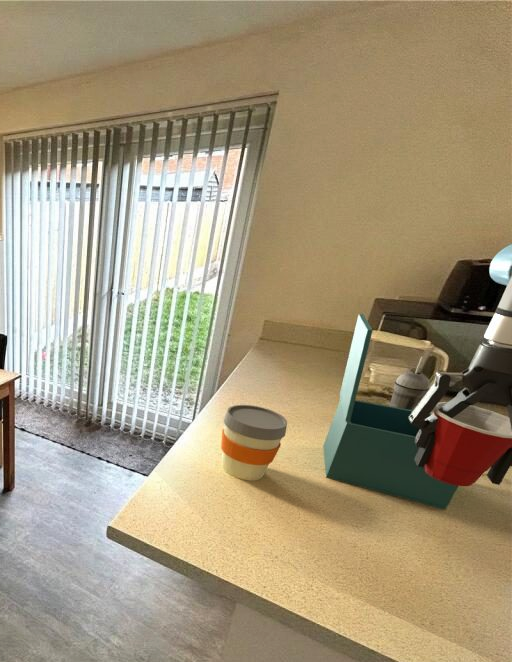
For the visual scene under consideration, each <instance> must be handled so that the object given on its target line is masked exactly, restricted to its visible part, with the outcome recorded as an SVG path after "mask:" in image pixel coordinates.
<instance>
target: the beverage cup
mask: <svg viewBox="0 0 512 662" xmlns="http://www.w3.org/2000/svg"><path fill="white" fill-rule="evenodd" d="M424 358H425V357H424V356H421V357H420V358H419V362H418V364H417V366H416V368H415V371H408V372H404V373H402V374H401V375H399V376H398V377H397V378H396V380H395V381H394V386H393V392H392V396H391V399H390V402H389V406H391V407H397V408H402V409H408V410H414V409H415V408H416V406H417V405H418V404H419V402H420V401H421V400H422V398H423V397H424V396H425V394H426V393H427V392H428V390H429V389H430V387H431V383H430V379H429V378H428V376H427V375H425V374H424V373H422V372H419V371H420V368H421V366H422V363H423V361H424Z"/></svg>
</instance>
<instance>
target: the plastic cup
mask: <svg viewBox="0 0 512 662" xmlns="http://www.w3.org/2000/svg"><path fill="white" fill-rule="evenodd" d="M448 402H449V401H439V402H438V404H437V405H436V406H435V408H434V409H433V410H432V411H433V413H434V415H435V416H436V417H437V418H438V421H437V427H436V429H437V430H435V431H434V434H435V435H436V440H435V445H434V447H433V449H432V451H431V453H430V455H429V457H428V460H427V462H426V464H425V471H426V473H427V474H429V475H430V476H431V477H433V478H435V479H437V480H439V481H442V482H445V483H448V484H451V485H456V486H458V487H465V488H466V487H470V486H473V484H475V483H476V482H477V481H478V480H479V479H480V478H481V477H482V476H483V474H485V472H488V471H489V470H490V468H491V466H492V465H493V464H494V463H495V462H496V461H497V460H498V459H499V458H500V457H501V456H502V455H503V454H504V453H505V452H506V451H507V450H508V449H509V448H511V447H512V429H511V424H510V419H509V416H506V415H503V414H502V413H498V412H496V411H493V410H489V409H486V408H482V407H479V406H475V405H470V406H468V407H467V408H466V409H464V410H463V411H462V412H460V413H459V414H457V415H456V416H455V417H453V418H450V417H448V416H447V415H445V414H443V413H441V412H440V411H439V409H440V408H441V407H443V406H444V405H445V404H447V403H448Z"/></svg>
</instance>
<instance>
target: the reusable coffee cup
mask: <svg viewBox="0 0 512 662" xmlns="http://www.w3.org/2000/svg"><path fill="white" fill-rule="evenodd" d="M223 423H224V428H222V430H221V443H220V449H221V450H222V454H221V468H222V469H223V471H225V472H226V473H227V474H229V475H231V476H233V477H235V478H237V479H240V480H243V481H258V480H260V479H262V478H263V477H264V474H265V473H266V471H267V469H268V467H269V465H270V464H271V463H273V461H274V459H275V458H276V455H277V453H278V452H279V450H280V448H281V444H282V443H281V442H282V439H284V438H285V436H286V433H287V428H288V420H287V419H286V418H285V417H284V416H283V415H282V414H280V413H278V412H276V411H274V410H272V409H269V408H266V407H262V406H258V405H251V404H235V405H232V406H230V407H228V408H227V410H226V413H225V415H224V418H223Z"/></svg>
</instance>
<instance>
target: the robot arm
mask: <svg viewBox="0 0 512 662" xmlns="http://www.w3.org/2000/svg"><path fill="white" fill-rule="evenodd" d="M488 269H489V270H488V271H489V277H490V278H491V280H492V281H494V282H495V283H497V284H500V285H504V286H506V288H505V289H504V292H503V294H502V297H501V298H500V301H499V303H498V305H497V307H496V309H495V312H494V314H493V316H492V318H491V320H490V322H489V324H488V326H487V328H486V330H485V333H484V334H483V337H484V338H485V340H483V341H481V342H479V345H478V346H477V349H476V351H475V353H474V355H473V357H472V359H471V361H470V364H469V366H468V367H467V368H466V369H464V370H462V372H447V371H446V370H443V369H441V370H440V369H439V370H437V371H436V372H435V374H434V375H435V376H434V382H433V384H432V385H431V386H430V387H429V390H428V391H427V393H426V394H425V395H424V396H423V397H422V399H421V400H420V402H419V404H418V405H417V406H416V408H415V409H414V410H413V412H412V413H411V414H410V416H409V417H408V418H409V421H410V423H411V425H412V426H414V427H418V428H420V429H419V432H418V434H417V436H416V438H415V444H416V446H417V447H420V448H419V450H418V452H417V454H416V456H415V458H414V460H415V462H416V464H417V466H418V467H422V468H424V466H425V464H426V462H427V460H428V457H429V455H430V453H431V451H432V449H433V447H434V445H435V440H436V435H435V434H434V431H435V430H437V429H436V427H437V421H438V418H437V417H436V416H435V415H434V412H433V411H434V410H433V409H434V408H435V406H436V405H437V404H438V403H440V402H441V400H442V399H443V397H444V396H445V395H446V394H447V392H448V390H449V388H450V387H453V386H455V385H456V384H457V383H458V382H460V381H462V383H463V384H464V388H463V389H461V390H460V391H459V392H458V393H457V394H456V396H455V397H453V398H452V399H450V400H449V401H447V402H448V403H447V404H445V405H444V406H443V407H441V408H440V409H439V411H440V412H441V413H443V414H445V415H447V416H448V417H450V418H453V417H455V416H456V415H457V414H459V413H460V412H462V411H463V410H464V409H466V408H467V407H468V406H475V404H476V403H478V402H483V403H496V404H499V405H503V406H506V408H507V412H508V413H507V414H508V417H509V419H510V424H511V429H512V244H509V245H507V246H506V247H504V248H502V249H501V250H500V251H499V252H497V253H496V254H495V255H494V257H493V258H492V260H491V261H490V264H489V268H488ZM432 412H433V413H432ZM429 414H432V415H431V416H429V417H428V415H429ZM427 417H428V418H427ZM426 418H427V419H426ZM510 467H512V447H511V448H509V449H508V450H507V451H506V452H505V453H504V454H503V455H502V456H501V457H500V458H499V459H498V460H497V461H496V462H495V463H494V464H493V465H492V466H491V467H490V468H489V469H488V471H487V473H486V477H487V478H488V480H489V481H490V482H491V483H492V485H498V486H500V485H501V483H502V482H503V480H504V478H505V476H506V475H507V473H508V471H509V470H510Z"/></svg>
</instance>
